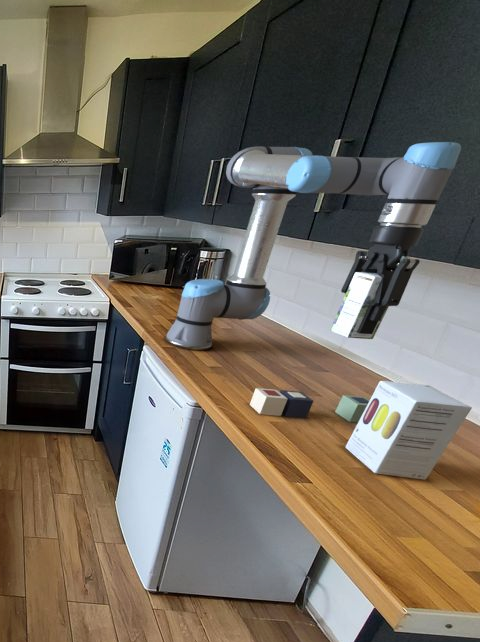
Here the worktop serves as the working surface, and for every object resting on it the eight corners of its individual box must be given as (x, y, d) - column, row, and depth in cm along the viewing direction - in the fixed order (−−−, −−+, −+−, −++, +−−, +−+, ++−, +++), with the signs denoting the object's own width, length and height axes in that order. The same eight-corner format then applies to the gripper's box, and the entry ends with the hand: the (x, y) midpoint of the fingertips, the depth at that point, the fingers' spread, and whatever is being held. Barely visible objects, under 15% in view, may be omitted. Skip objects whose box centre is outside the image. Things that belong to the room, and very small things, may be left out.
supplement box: (343, 447, 89) (377, 379, 82) (390, 452, 88) (428, 383, 81) (375, 474, 80) (416, 401, 73) (428, 481, 79) (475, 406, 72)
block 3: (334, 411, 104) (343, 394, 102) (355, 413, 103) (364, 396, 101) (349, 422, 99) (358, 403, 97) (371, 423, 99) (380, 405, 97)
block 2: (273, 406, 105) (280, 389, 103) (293, 408, 105) (301, 391, 103) (284, 416, 101) (292, 398, 99) (306, 418, 100) (314, 400, 98)
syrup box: (354, 332, 98) (380, 272, 92) (374, 340, 92) (403, 277, 86) (329, 330, 98) (354, 270, 92) (347, 338, 93) (375, 275, 87)
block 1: (249, 404, 106) (255, 387, 104) (269, 406, 105) (276, 389, 103) (259, 414, 101) (266, 396, 99) (280, 416, 101) (288, 398, 99)
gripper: (348, 221, 94) (310, 316, 103) (420, 228, 77) (367, 341, 86) (382, 223, 93) (341, 318, 103) (464, 230, 76) (405, 343, 86)
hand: (353, 328), depth 95 cm, fingers closed on syrup box, 6 cm apart
